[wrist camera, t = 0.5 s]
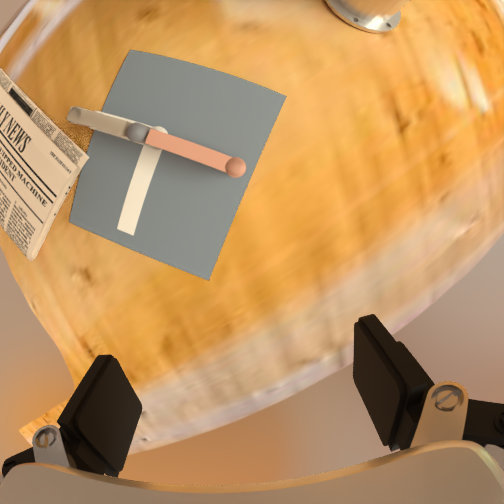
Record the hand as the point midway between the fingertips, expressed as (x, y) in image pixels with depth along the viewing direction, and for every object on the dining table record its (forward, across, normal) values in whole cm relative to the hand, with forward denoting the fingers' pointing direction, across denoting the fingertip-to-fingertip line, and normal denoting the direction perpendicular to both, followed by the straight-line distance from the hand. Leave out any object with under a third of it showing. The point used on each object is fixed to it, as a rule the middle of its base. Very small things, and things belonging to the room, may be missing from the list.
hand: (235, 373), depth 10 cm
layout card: (+27, +8, -11) cm, 30 cm away
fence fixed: (+27, +13, -16) cm, 34 cm away
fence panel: (+26, +4, -10) cm, 29 cm away
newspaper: (+27, +37, -22) cm, 51 cm away
